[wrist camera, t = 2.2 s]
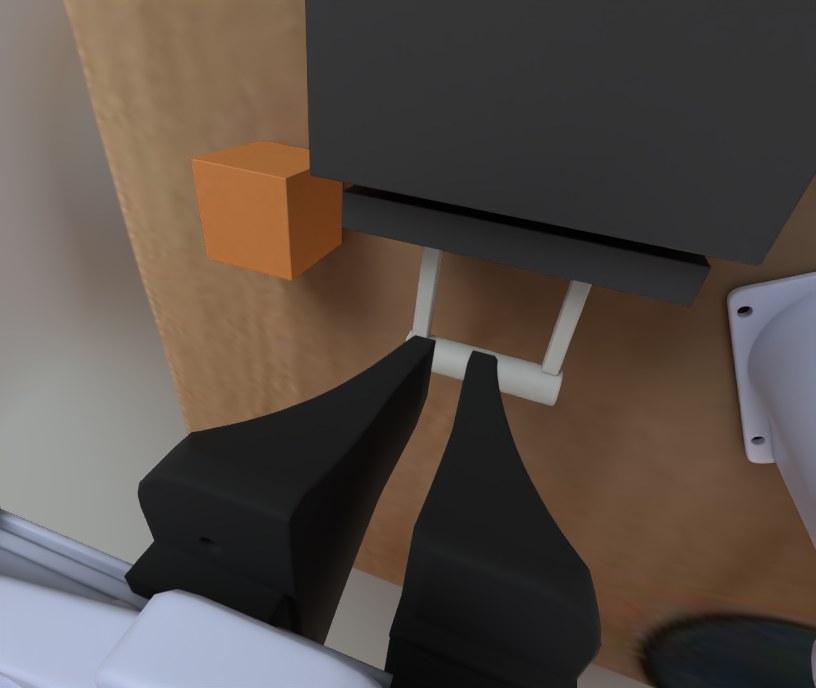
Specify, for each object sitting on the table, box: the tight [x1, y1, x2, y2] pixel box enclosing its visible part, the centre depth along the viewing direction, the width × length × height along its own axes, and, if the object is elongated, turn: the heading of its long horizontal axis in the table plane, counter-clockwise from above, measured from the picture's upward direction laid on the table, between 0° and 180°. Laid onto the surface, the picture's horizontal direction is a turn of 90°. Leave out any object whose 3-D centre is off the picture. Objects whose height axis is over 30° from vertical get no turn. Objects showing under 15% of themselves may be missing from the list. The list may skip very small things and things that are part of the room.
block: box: [191, 141, 343, 281], centre depth 21 cm, size 4×4×5 cm
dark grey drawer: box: [342, 185, 711, 406], centre depth 14 cm, size 17×10×7 cm, turn 174°
